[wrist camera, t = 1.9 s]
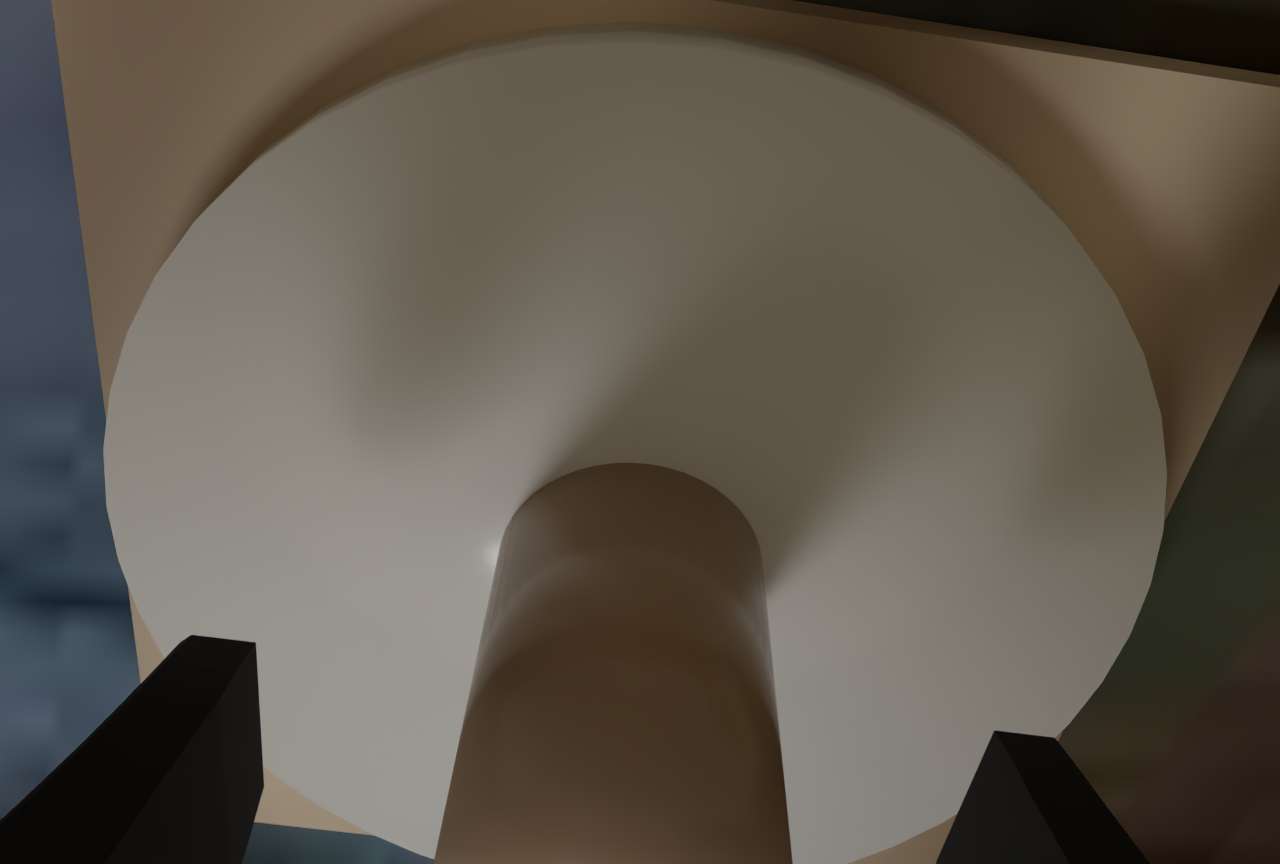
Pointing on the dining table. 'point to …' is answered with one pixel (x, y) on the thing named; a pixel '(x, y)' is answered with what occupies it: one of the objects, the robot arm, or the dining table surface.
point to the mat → (747, 4)
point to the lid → (638, 453)
